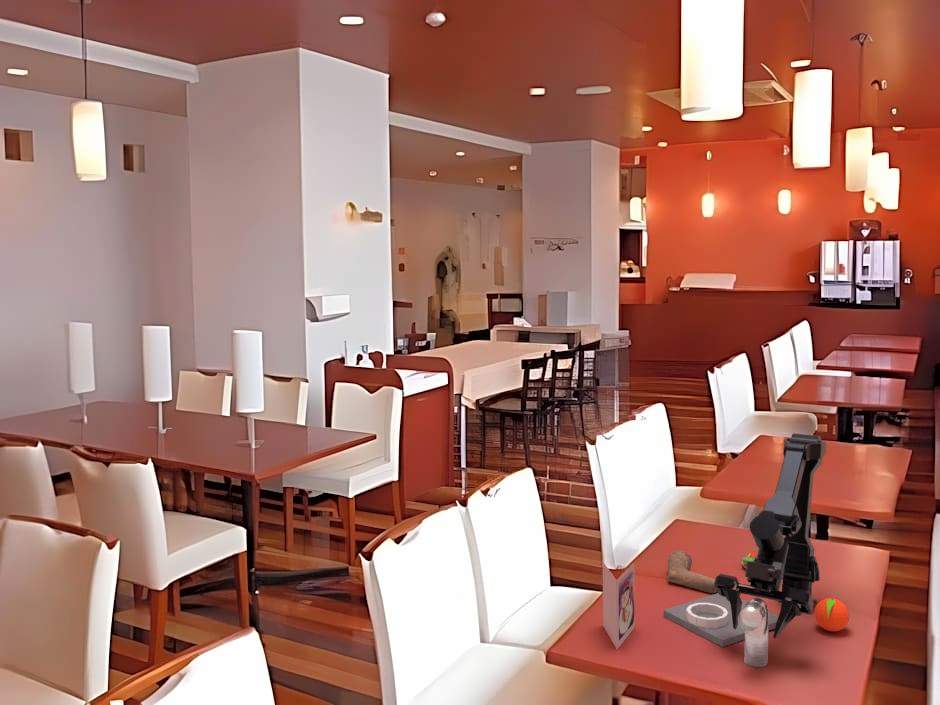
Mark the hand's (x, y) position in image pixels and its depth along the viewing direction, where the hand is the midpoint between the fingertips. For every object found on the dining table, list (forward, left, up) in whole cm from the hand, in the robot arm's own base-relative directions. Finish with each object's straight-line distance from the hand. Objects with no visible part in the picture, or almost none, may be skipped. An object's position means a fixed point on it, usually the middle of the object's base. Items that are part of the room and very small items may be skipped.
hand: (754, 633), depth 173 cm
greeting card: (+15, -25, -7) cm, 30 cm away
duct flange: (-10, -18, -7) cm, 21 cm away
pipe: (-20, -37, -7) cm, 43 cm away
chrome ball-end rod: (0, 0, -7) cm, 7 cm away
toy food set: (-42, -34, -7) cm, 54 cm away
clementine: (-25, -2, -7) cm, 26 cm away
